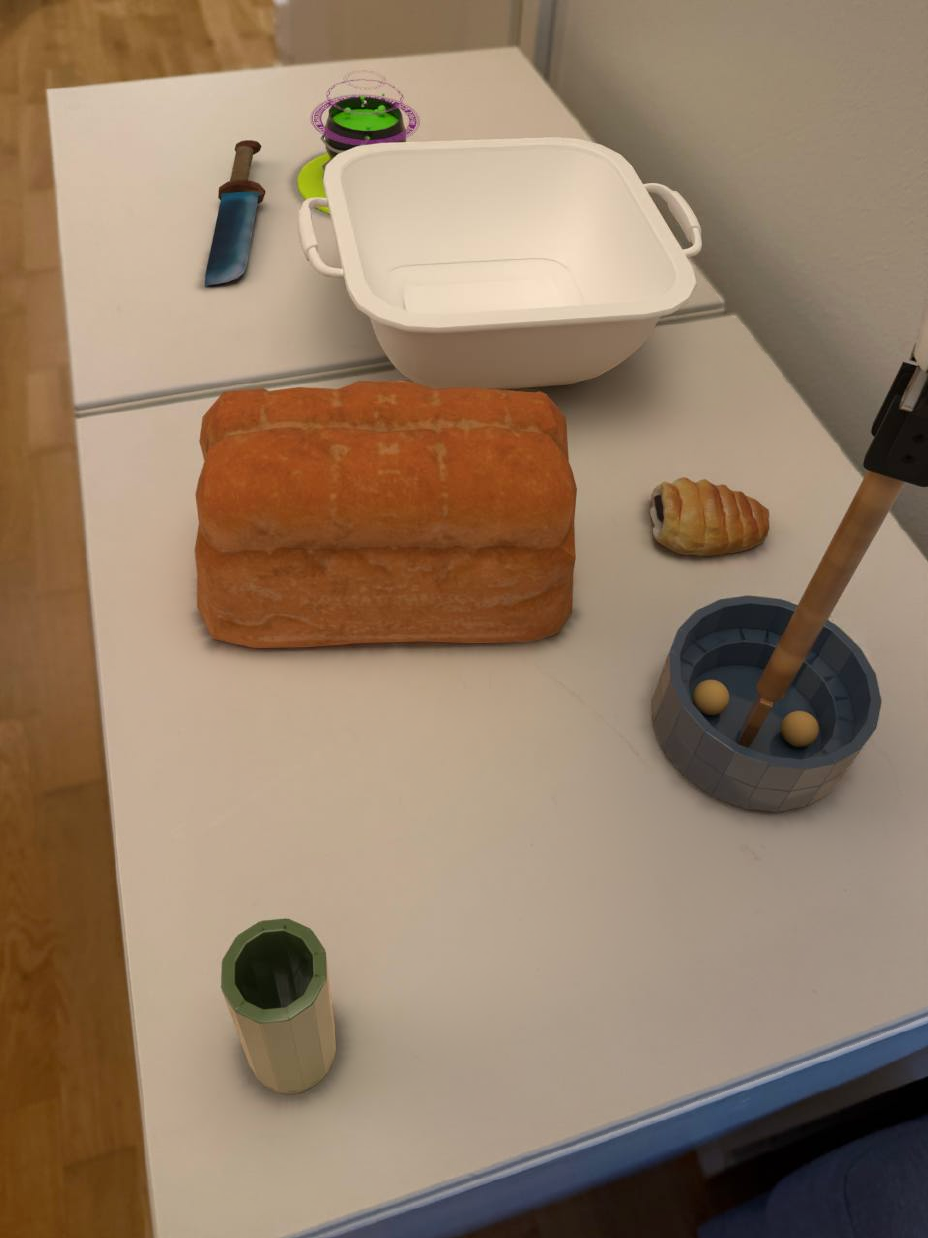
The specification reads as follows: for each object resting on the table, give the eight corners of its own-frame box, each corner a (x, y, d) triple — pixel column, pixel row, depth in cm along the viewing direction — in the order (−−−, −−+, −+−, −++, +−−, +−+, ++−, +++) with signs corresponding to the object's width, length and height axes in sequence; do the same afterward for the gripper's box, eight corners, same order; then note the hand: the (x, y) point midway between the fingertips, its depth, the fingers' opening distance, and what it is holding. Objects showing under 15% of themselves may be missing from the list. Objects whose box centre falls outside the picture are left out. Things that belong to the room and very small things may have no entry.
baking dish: (619, 249, 106) (644, 128, 96) (713, 426, 88) (755, 301, 79) (292, 267, 100) (282, 139, 90) (325, 461, 83) (317, 330, 73)
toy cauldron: (297, 149, 114) (290, 46, 106) (428, 151, 116) (432, 49, 108) (297, 219, 105) (289, 112, 97) (439, 220, 107) (444, 115, 98)
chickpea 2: (808, 759, 67) (820, 739, 65) (772, 745, 67) (783, 726, 65) (814, 731, 68) (826, 711, 66) (779, 718, 69) (791, 698, 67)
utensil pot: (310, 1109, 52) (294, 1040, 43) (232, 1071, 53) (200, 995, 44) (350, 1025, 55) (344, 943, 45) (276, 990, 56) (255, 903, 46)
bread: (577, 648, 72) (615, 496, 60) (196, 656, 69) (159, 500, 58) (552, 509, 81) (581, 353, 69) (213, 512, 78) (183, 350, 66)
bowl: (827, 847, 63) (863, 801, 59) (626, 768, 66) (644, 718, 61) (860, 689, 71) (894, 637, 67) (679, 624, 74) (699, 570, 69)
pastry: (756, 503, 83) (770, 468, 80) (772, 564, 79) (788, 530, 76) (643, 498, 82) (653, 463, 79) (654, 560, 78) (665, 526, 75)
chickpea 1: (720, 726, 68) (726, 708, 66) (685, 714, 69) (691, 695, 67) (729, 698, 69) (736, 680, 67) (695, 687, 70) (701, 668, 68)
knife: (246, 267, 95) (194, 272, 95) (254, 294, 97) (204, 298, 98) (270, 128, 109) (225, 132, 109) (277, 154, 111) (232, 159, 112)
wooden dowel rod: (756, 752, 66) (967, 382, 43) (729, 741, 66) (924, 369, 43) (764, 724, 67) (973, 352, 44) (738, 714, 68) (931, 340, 44)
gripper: (1262, 175, 28) (964, 599, 42) (1224, -11, 37) (991, 387, 52) (987, 111, 29) (789, 542, 44) (1017, -52, 39) (846, 346, 53)
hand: (900, 456), depth 48 cm, fingers closed on wooden dowel rod, 1 cm apart
